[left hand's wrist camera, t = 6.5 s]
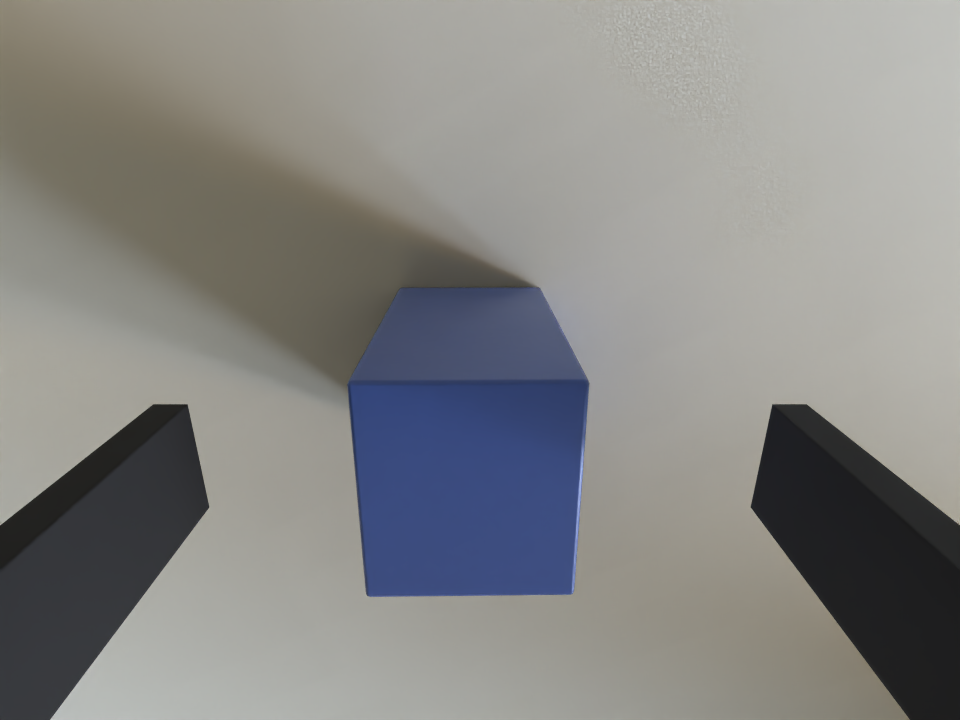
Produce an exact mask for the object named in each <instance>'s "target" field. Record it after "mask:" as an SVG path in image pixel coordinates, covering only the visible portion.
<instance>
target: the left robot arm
mask: <svg viewBox="0 0 960 720" xmlns="http://www.w3.org/2000/svg"><path fill="white" fill-rule="evenodd" d="M208 508H209V504H208V499H207V494H206V490H205V485H204V480H203V475H202V471H201V466H200V461H199V456H198V452H197V447H196V442H195V437H194V433H193V428H192V423H191V419H190V414H189V409H188V404H153V405H152V406H151V407H150V408H148V409H147V410H146V411H144V412H143V413H142V414H141V415H139V416H138V417H137V418H136V419H134V420H133V421H132V422H131V423H129V424H128V425H127V426H126V427H124V428H123V429H122V430H120V431H119V432H118V433H117V434H115V435H114V436H113V437H112V438H110V439H109V440H108V441H107V442H105V443H104V444H103V445H101V446H100V447H99V448H98V449H96V450H95V451H94V452H93V453H91V454H90V455H89V456H88V457H86V458H85V459H84V460H82V461H81V462H80V463H79V464H77V465H76V466H75V467H74V468H72V469H71V470H70V471H69V472H67V473H66V474H65V475H64V476H62V477H61V478H60V479H58V480H57V481H56V482H55V483H53V484H52V485H51V486H50V487H48V488H47V489H46V490H45V491H43V492H42V493H41V494H39V495H38V496H37V497H36V498H34V499H33V500H32V501H31V502H29V503H28V504H27V505H26V506H24V507H23V508H22V509H21V510H19V511H18V512H17V513H15V514H14V515H13V516H12V517H10V518H9V519H8V520H7V521H5V522H4V523H3V524H2V525H0V720H50V719H51V718H52V716H53V715H54V714H55V712H56V711H57V710H58V708H59V707H60V706H61V704H62V703H63V702H64V700H65V699H66V698H67V696H68V695H69V694H70V692H71V691H72V690H73V688H74V687H75V686H76V684H77V683H78V682H79V680H80V679H81V678H82V676H83V675H84V674H85V672H86V671H87V670H88V668H89V667H90V666H91V664H92V663H93V662H94V660H95V659H96V658H97V656H98V655H99V654H100V652H101V651H102V650H103V648H104V647H105V646H106V644H107V643H108V642H109V640H110V639H111V638H112V636H113V635H114V634H115V632H116V631H117V630H118V628H119V627H120V626H121V624H122V623H123V622H124V620H125V619H126V618H127V616H128V615H129V614H130V612H131V611H132V610H133V608H134V607H135V606H136V604H137V603H138V602H139V600H140V599H141V598H142V596H143V595H144V594H145V592H146V591H147V590H148V588H149V587H150V586H151V584H152V583H153V582H154V580H155V579H156V578H157V576H158V575H159V574H160V572H161V571H162V570H163V568H164V567H165V566H166V564H167V563H168V562H169V560H170V559H171V558H172V556H173V555H174V554H175V552H176V551H177V550H178V548H179V547H180V546H181V544H182V543H183V542H184V540H185V539H186V538H187V536H188V535H189V534H190V532H191V531H192V530H193V528H194V527H195V526H196V524H197V523H198V522H199V520H200V519H201V518H202V516H203V515H204V514H205V512H206V511H207V510H208ZM751 508H752V510H753V511H754V512H755V514H756V515H757V516H758V518H759V519H760V520H761V522H762V523H763V524H764V526H765V527H766V528H767V530H768V531H769V532H770V534H771V535H772V536H773V538H774V539H775V540H776V542H777V543H778V544H779V546H780V547H781V548H782V550H783V551H784V552H785V554H786V555H787V556H788V558H789V559H790V560H791V562H792V563H793V564H794V566H795V567H796V568H797V570H798V571H799V572H800V574H801V575H802V576H803V578H804V579H805V580H806V582H807V583H808V584H809V586H810V587H811V588H812V590H813V591H814V592H815V594H816V595H817V596H818V598H819V599H820V600H821V602H822V603H823V604H824V606H825V607H826V608H827V610H828V611H829V612H830V614H831V615H832V616H833V618H834V619H835V620H836V622H837V623H838V624H839V626H840V627H841V628H842V630H843V631H844V632H845V634H846V635H847V636H848V638H849V639H850V640H851V642H852V643H853V644H854V646H855V647H856V648H857V650H858V651H859V652H860V654H861V655H862V656H863V658H864V659H865V660H866V662H867V663H868V664H869V666H870V667H871V668H872V670H873V671H874V672H875V674H876V675H877V676H878V678H879V679H880V680H881V682H882V683H883V684H884V686H885V687H886V688H887V690H888V691H889V692H890V694H891V695H892V696H893V698H894V699H895V700H896V702H897V703H898V704H899V706H900V707H901V708H902V710H903V711H904V712H905V714H906V715H907V716H908V718H909V719H910V720H960V525H958V524H957V523H956V522H955V521H953V520H952V519H951V518H950V517H948V516H947V515H946V514H945V513H943V512H942V511H941V510H939V509H938V508H937V507H936V506H934V505H933V504H932V503H931V502H929V501H928V500H927V499H926V498H924V497H923V496H922V495H921V494H919V493H918V492H917V491H915V490H914V489H913V488H912V487H910V486H909V485H908V484H907V483H905V482H904V481H903V480H902V479H900V478H899V477H898V476H896V475H895V474H894V473H893V472H891V471H890V470H889V469H888V468H886V467H885V466H884V465H883V464H881V463H880V462H879V461H878V460H876V459H875V458H874V457H872V456H871V455H870V454H869V453H867V452H866V451H865V450H864V449H862V448H861V447H860V446H859V445H857V444H856V443H855V442H853V441H852V440H851V439H850V438H848V437H847V436H846V435H845V434H843V433H842V432H841V431H840V430H838V429H837V428H836V427H834V426H833V425H832V424H831V423H829V422H828V421H827V420H826V419H824V418H823V417H822V416H821V415H819V414H818V413H817V412H816V411H814V410H813V409H812V408H810V407H809V406H808V405H807V404H772V409H771V414H770V419H769V423H768V428H767V433H766V437H765V442H764V447H763V452H762V456H761V461H760V466H759V471H758V475H757V480H756V485H755V490H754V494H753V499H752V504H751Z"/></svg>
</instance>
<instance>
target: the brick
mask: <svg viewBox="0 0 960 720" xmlns="http://www.w3.org/2000/svg"><path fill="white" fill-rule="evenodd" d="M347 386H348V398H349V409H350V420H351V431H352V442H353V454H354V465H355V476H356V487H357V498H358V509H359V521H360V532H361V543H362V554H363V565H364V577H365V588H366V594H367V596H369V597H389V596H486V595H571V594H573V592H574V585H575V571H576V558H577V544H578V530H579V517H580V503H581V489H582V476H583V462H584V448H585V435H586V421H587V407H588V394H589V381H588V379H587V377H586V375H585V373H584V371H583V369H582V368H581V366H580V364H579V362H578V360H577V358H576V356H575V354H574V352H573V350H572V348H571V346H570V345H569V343H568V341H567V339H566V337H565V335H564V333H563V331H562V329H561V327H560V325H559V323H558V322H557V320H556V318H555V316H554V314H553V312H552V310H551V308H550V306H549V304H548V302H547V301H546V299H545V297H544V295H543V293H542V291H541V289H540V288H538V287H520V288H400V289H399V291H398V293H397V294H396V296H395V298H394V300H393V302H392V303H391V305H390V307H389V309H388V311H387V312H386V314H385V316H384V318H383V320H382V322H381V323H380V325H379V327H378V329H377V331H376V332H375V334H374V336H373V338H372V340H371V341H370V343H369V345H368V347H367V349H366V351H365V352H364V354H363V356H362V358H361V360H360V361H359V363H358V365H357V367H356V369H355V370H354V372H353V374H352V376H351V378H350V380H349V381H348V384H347Z"/></svg>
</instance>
